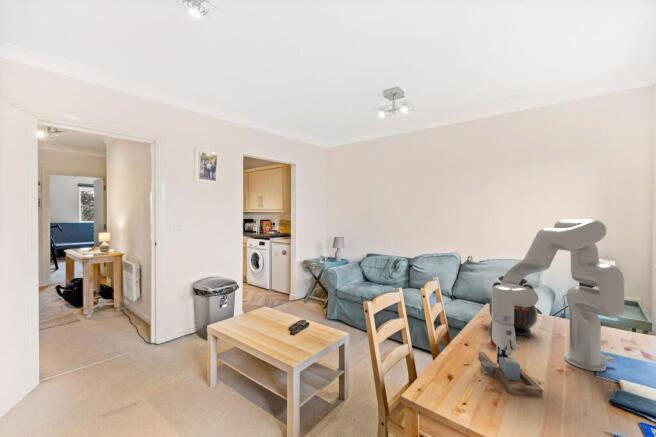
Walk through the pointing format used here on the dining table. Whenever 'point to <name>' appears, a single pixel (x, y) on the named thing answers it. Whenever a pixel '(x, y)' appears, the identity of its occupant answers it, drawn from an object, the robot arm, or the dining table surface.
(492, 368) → the beam slot
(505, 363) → the block
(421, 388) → the dining table surface
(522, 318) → the amphora vase
